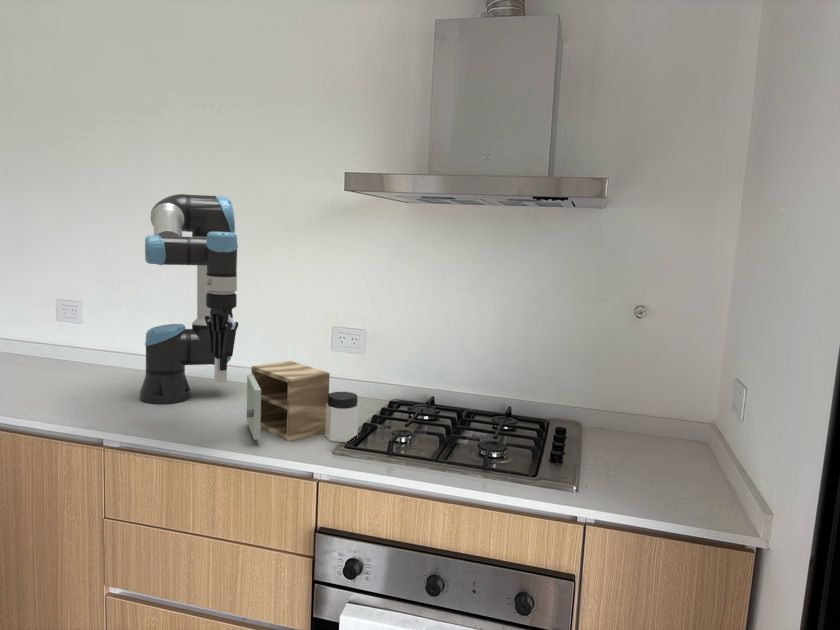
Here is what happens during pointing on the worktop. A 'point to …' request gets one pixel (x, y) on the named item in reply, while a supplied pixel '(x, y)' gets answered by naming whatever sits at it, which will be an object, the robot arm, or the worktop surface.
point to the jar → (341, 416)
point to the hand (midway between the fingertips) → (220, 381)
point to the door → (253, 406)
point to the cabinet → (292, 399)
